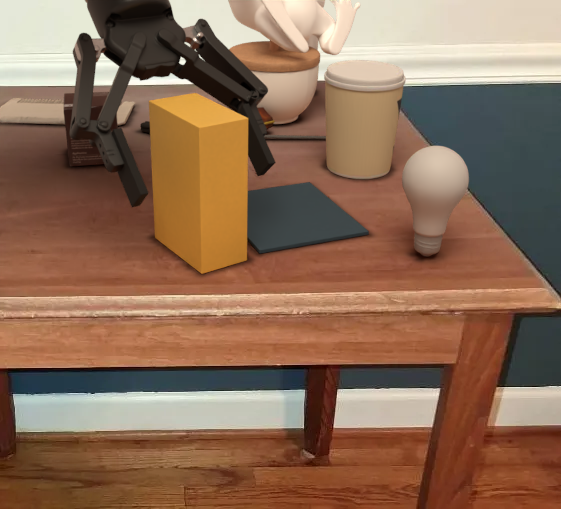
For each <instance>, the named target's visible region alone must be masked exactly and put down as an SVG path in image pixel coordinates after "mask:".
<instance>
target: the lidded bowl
mask: <svg viewBox="0 0 561 509" xmlns="http://www.w3.org/2000/svg"><path fill="white" fill-rule="evenodd" d="M228 49H229V50H230V51H231V52H232V53H233V54H234V55H235V56H236V57H237V58H238V59H239V60H240V61H241V62H242V63H243V64H244V65H245V66H246V67H247V68H248V69H249V70H250V71H251V72H252V73H253V74H254V75H255V76H256V77H258V78H259V79H260V80H261V81H262V82H263V83H264V84H265V85H266V86H267V88H268V92H267V94H266V95H265V96H264V98H263V99H262V100H261V101H260V103H259V104H258V105H257V108H258V107H263V108H264V109H265V110H266V111H267V112H268V114H269V115H270V116H271V117H272V118H273V120H274V121H275V122H274V123H273V125H282V124H283V125H284V124H290V123H292V122H295V121H296V120H298V119H299V115H300V114H302V113H303V112H304V111H305V110H306V109H307V108H308V107H309V105H310V104H311V102H312V100H313V98H314V96H315V93H316V90H317V86H318V80H319V71H320V70H319V69H320V68H319V67H320V63H321V53H320V51H319V49H318V50H316V49H315V48H313V47H310V46H309V50H308V51H307V52H306V53H300V52H292V51H287V50H285V49H283V48H281V47H280V46H278V45H277V44H275V43H274V42H272V41H271V40H261V41H260V40H258V41H249V42H243V43H239V44H236V45H233V46H231V47H230V48H228Z"/></svg>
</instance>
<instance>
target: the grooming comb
mask: <svg viewBox="0 0 561 509" xmlns="http://www.w3.org/2000/svg"><path fill="white" fill-rule="evenodd" d="M135 104H136V102H135V101H126V100H125V101H121V104H120V106H119V109H118V111H117V125H118V126H122V125H125V124H126V123H127V121H128V119H129V118H130V115H131V113H132V111H133V108H134V106H135ZM0 123H8V124H9V123H12V124H13V123H14V124H15V123H17V124H19V123H20V124H23V123H24V124H44V125H45V124H47V125H49V124H50V125H65V120H64V100H63V99H58V98H57V100H56V99H54V100H53V98H52V99H50V98H48V99H46V98H45V99H43V98H41V99H39V98H38V99H36V98H34V99H33V98H22V97H12V98H11V99H9V100H7V101H6V102H5V103H4V104H2V105H1V106H0Z"/></svg>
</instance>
